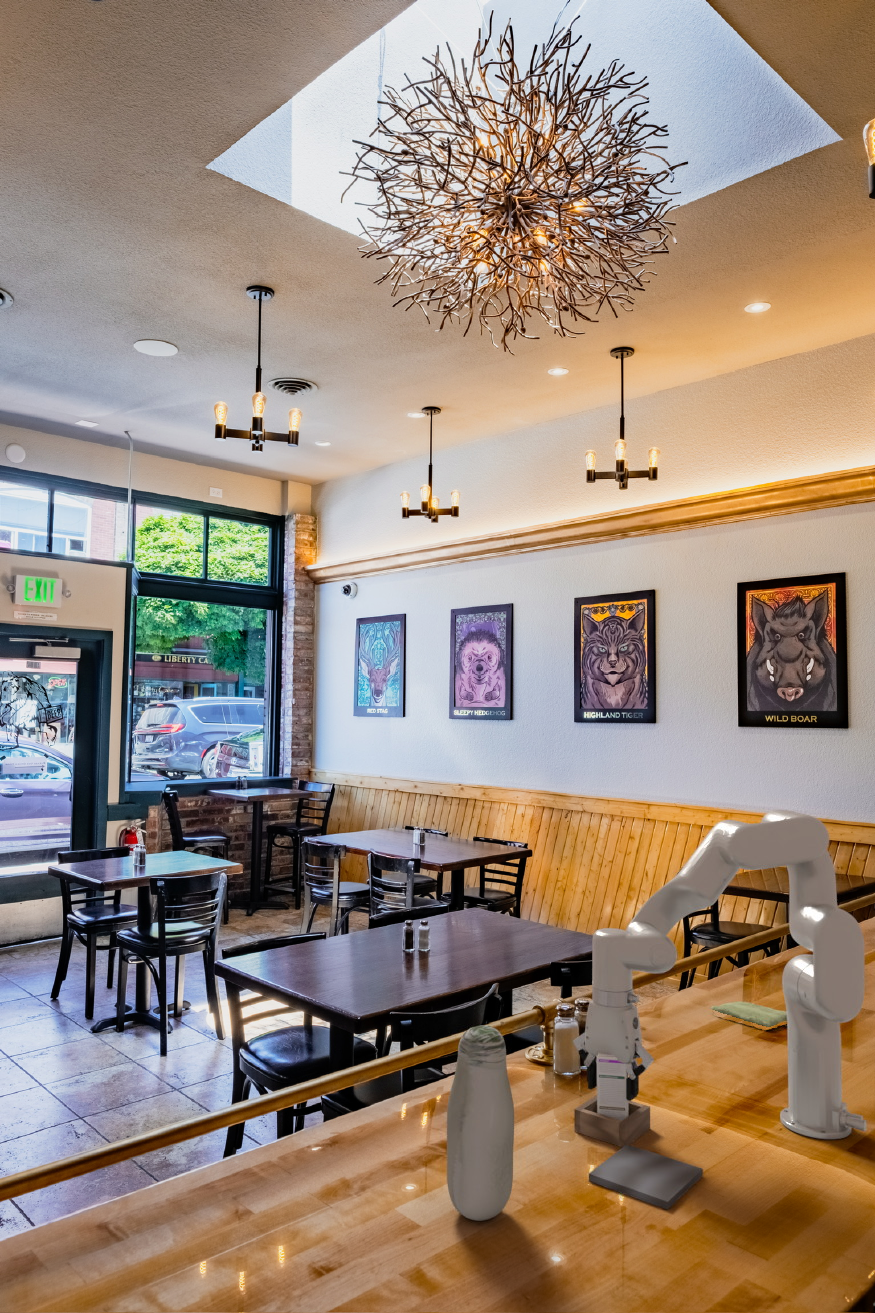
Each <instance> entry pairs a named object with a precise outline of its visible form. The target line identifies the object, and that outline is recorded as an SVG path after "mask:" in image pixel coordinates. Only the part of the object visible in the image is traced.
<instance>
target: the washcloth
mask: <svg viewBox="0 0 875 1313" xmlns="http://www.w3.org/2000/svg"><path fill="white" fill-rule="evenodd" d="M711 1009H712V1010H715V1011H718V1012H720V1013H723V1014H727V1015H731V1016H732V1017H736V1018H739V1019H743V1020H744V1021H748V1022H752V1023H756V1024H758V1025H762V1026H766V1027H771V1026H774V1025H777V1024H778V1023H780V1022H783V1021H787V1011H785V1010H778V1009H774V1008H773V1007H767V1006H764V1005H759V1004H756V1003H753V1002H747V1001H734V1002H733V1001H732V1002H727V1003H726V1002H725V1003H722V1004H721V1005H713V1006H711V1008H710V1010H711Z"/></svg>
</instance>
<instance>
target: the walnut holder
mask: <svg viewBox="0 0 875 1313" xmlns="http://www.w3.org/2000/svg"><path fill="white" fill-rule="evenodd" d="M573 1111H574V1119H573V1120H574V1121H573V1123H574V1128H573V1129H574V1130H573V1131H574V1132H575V1133H579V1134H582V1135H584V1136H586V1137H587V1136H588V1137H590V1138H593V1139H597V1140H599V1141H603V1142H606V1143H609V1144H612V1145H614V1146H618V1147H621V1148H623V1147H624V1146H625V1145H626V1144H630V1145H631V1144H632V1143H634V1142H635V1141H636V1140H637V1139H638V1137H639V1138H640V1137H641V1136H644V1134H645V1133H646V1132H648V1131H649V1130H651V1106H649V1105H646V1104H642V1103H639V1102H636V1101H632V1100H631V1101H628V1111H629V1116H628V1117H627V1118H625V1119H624V1120H623V1121H621V1120H617V1119H614V1118H611V1117H608V1116H605V1115H601V1114H598V1113H597V1094H596V1095H594V1096H593V1097H591V1098H590V1099H588V1100H587V1101H585V1102H584V1103H582V1104H581V1105H579V1106H577V1107H576V1108H574V1110H573ZM648 1129H649V1130H648ZM633 1141H634V1142H633Z"/></svg>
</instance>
